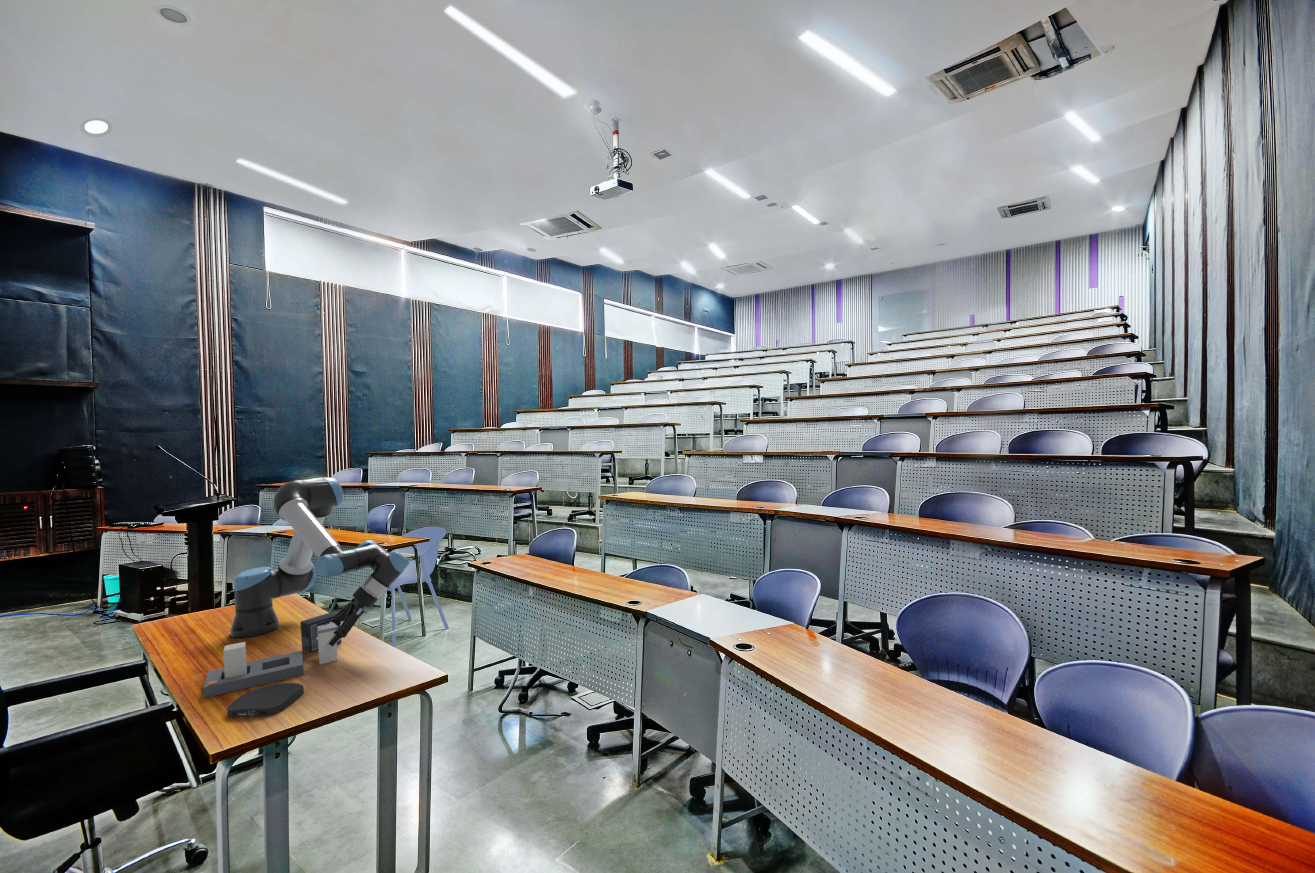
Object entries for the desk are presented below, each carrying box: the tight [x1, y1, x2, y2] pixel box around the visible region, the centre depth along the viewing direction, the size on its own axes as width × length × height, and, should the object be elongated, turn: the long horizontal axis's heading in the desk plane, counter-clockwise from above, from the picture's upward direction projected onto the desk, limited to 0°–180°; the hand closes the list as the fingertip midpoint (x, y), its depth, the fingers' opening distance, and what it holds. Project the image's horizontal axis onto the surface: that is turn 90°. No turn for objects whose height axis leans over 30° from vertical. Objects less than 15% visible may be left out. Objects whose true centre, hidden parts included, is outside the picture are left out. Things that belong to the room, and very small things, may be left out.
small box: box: [299, 612, 342, 654], centre depth 192 cm, size 11×6×10 cm, turn 149°
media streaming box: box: [226, 682, 305, 719], centre depth 151 cm, size 15×15×3 cm
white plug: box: [317, 623, 338, 665], centre depth 180 cm, size 5×5×11 cm
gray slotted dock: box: [202, 641, 305, 699], centre depth 168 cm, size 14×24×11 cm, turn 125°
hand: (320, 646), depth 179 cm, fingers open, 13 cm apart
